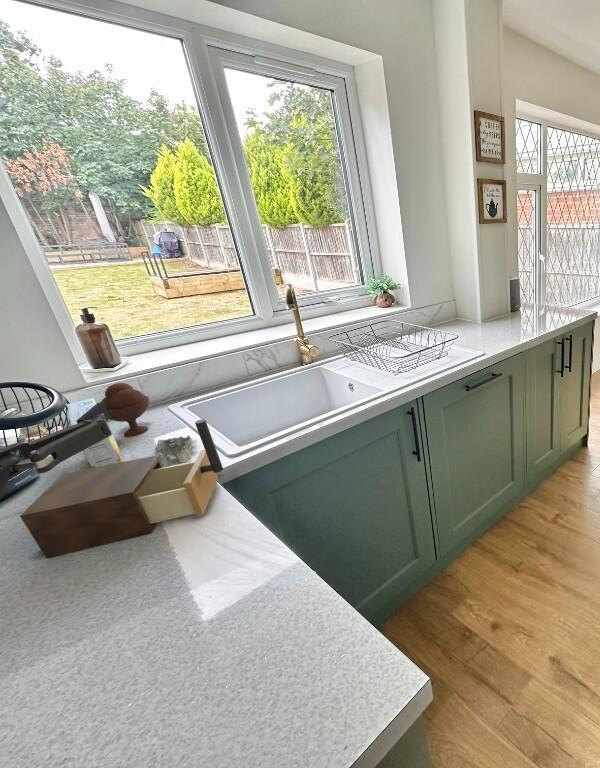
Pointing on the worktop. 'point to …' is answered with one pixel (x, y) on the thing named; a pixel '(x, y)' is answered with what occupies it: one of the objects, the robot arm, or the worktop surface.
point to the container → (182, 484)
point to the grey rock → (174, 450)
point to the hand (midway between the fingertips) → (48, 418)
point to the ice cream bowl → (126, 406)
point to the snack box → (102, 450)
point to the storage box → (91, 508)
